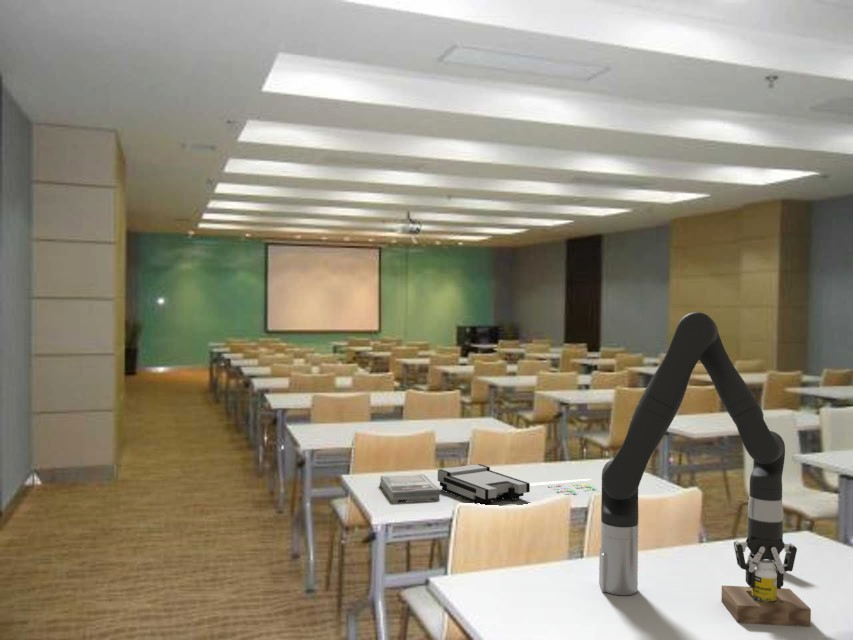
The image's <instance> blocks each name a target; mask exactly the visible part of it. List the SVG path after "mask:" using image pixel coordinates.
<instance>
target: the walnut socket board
mask: <svg viewBox="0 0 853 640" xmlns="http://www.w3.org/2000/svg"><path fill="white" fill-rule="evenodd" d="M720 601H721V603H722V604H723V605H724V607H725V608H726V610H727V611H728V612H729V613H730V615H731V617H733V619H734V620H735V621H736V622H737V623H738V624H753V625H754V624H755V625H756V624H757V625H759V624H760V625H774V626H775V625H777V626H778V625H779V626H793V625H795V627H796V626H797V625H803V626H802V627H811V626H812V625H811V624H812V623H811V621H812V620H811V618H812V616H811V615H812V614H811V611H812V609H811V608H810V606H808V604H806V603H805V602H804V601H803V600H802V599H801V597H799V596H798V595H797V594H796V593H794V591H792V590H791V588H782V587H781V589H777V602H776V603H774V602H755V601H754V600H753V599H752V588H751V587H750V586H742V585H741V586H737V585H721V599H720ZM805 625H806V626H805ZM797 627H798V626H797Z"/></svg>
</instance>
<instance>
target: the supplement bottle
mask: <svg viewBox="0 0 853 640" xmlns="http://www.w3.org/2000/svg"><path fill="white" fill-rule="evenodd" d="M773 569H774V561H772V560H768V559H765V560H760V561H759V563H758V564H757V565H756V567H755V569H754V571H753V572H754V588H752V599H753V600H754V601H755V602H774V603H776V602H777V573H776V570H773Z"/></svg>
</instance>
